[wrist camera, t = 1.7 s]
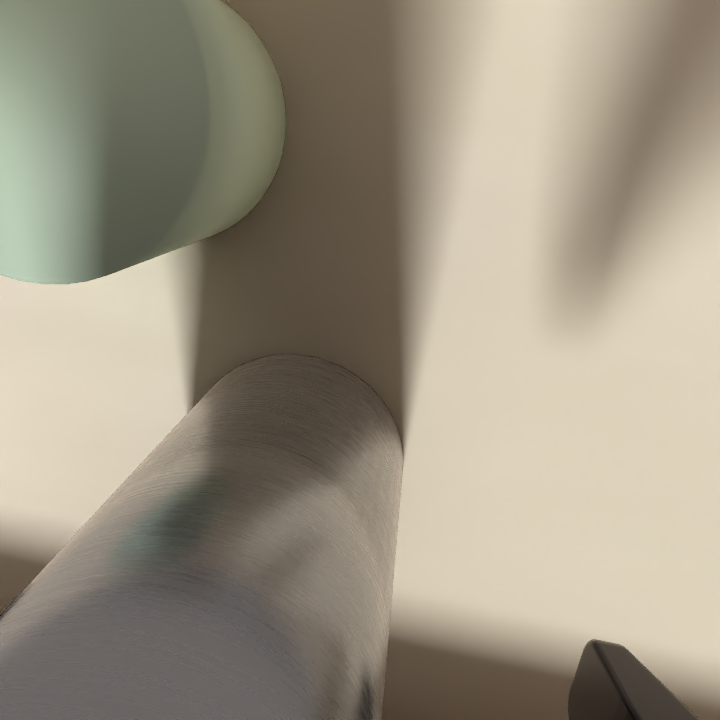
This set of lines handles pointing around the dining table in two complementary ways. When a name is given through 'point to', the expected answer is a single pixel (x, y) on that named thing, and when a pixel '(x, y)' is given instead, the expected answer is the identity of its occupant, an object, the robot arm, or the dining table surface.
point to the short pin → (128, 131)
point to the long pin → (227, 566)
